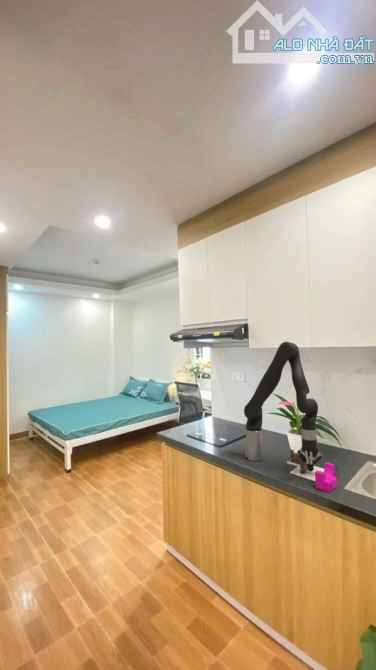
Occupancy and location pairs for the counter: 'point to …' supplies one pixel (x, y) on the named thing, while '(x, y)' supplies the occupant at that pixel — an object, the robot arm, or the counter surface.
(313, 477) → the card
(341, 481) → the counter surface
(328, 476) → the toy block
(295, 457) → the fence fixed
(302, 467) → the fence panel
